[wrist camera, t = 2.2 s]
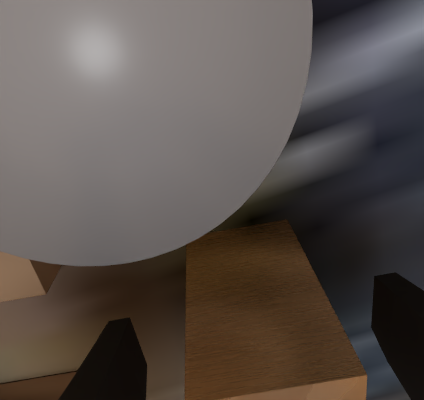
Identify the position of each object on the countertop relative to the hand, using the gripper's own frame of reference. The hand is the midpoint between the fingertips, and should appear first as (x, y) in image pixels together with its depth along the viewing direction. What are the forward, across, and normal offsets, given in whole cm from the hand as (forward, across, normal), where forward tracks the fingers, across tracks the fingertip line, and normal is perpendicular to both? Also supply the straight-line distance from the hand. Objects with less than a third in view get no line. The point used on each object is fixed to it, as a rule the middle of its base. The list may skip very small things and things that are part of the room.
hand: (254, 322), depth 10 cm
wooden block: (+3, 0, 0) cm, 3 cm away
